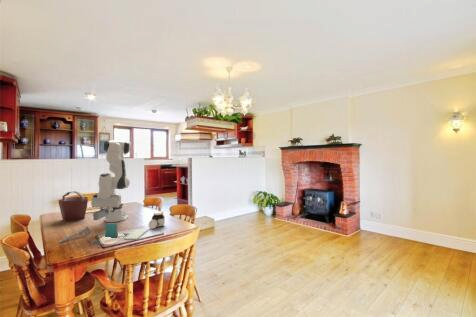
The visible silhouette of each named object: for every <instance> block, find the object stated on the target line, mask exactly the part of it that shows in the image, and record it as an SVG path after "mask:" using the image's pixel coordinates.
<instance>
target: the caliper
mask: <svg viewBox="0 0 476 317" xmlns="http://www.w3.org/2000/svg"><path fill="white" fill-rule="evenodd" d="M83 234H85V236H87V235H90V234H91V229H90V227H89V226H86V227H84V229H82V230H80V231H78V232H76V233H74V234H72V235H70V236H67V237H65V238H62V239H61V240H60V241H58V244H60V243H64V242H67V241H69V240H70V239H73V238H75V237H77V236H82V235H83Z"/></svg>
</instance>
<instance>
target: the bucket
mask: <svg viewBox="0 0 476 317" xmlns="http://www.w3.org/2000/svg"><path fill="white" fill-rule="evenodd" d="M71 193H75V194H77V195H78V196H71V197H66V196H69V195H70V194H71ZM88 202H89V196H84V195H83V194H82V193H81V192H79V191H68V192H66V193H65V194H64V195H62V196H61V199H58V207H59V211H60V214H61V218H62V221H64V220H65V221H64V222H77V221H80V220H84V219H85V218H86V212H87V207H88Z"/></svg>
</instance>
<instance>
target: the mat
mask: <svg viewBox="0 0 476 317" xmlns="http://www.w3.org/2000/svg"><path fill="white" fill-rule="evenodd" d="M122 233H123V232H122ZM123 234H124V235H125V237H127V236H128V235H129V233H126V232H125V233H123ZM98 239H99V238H97V239H95V240H94V241H92V242H91V243H89V245H90V246H91V245H92V246H93V245H94V246H98V245H101V243H100V241H99V240H98ZM113 245H115V244H113ZM113 245H112V246H113Z"/></svg>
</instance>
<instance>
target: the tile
mask: <svg viewBox="0 0 476 317" xmlns="http://www.w3.org/2000/svg"><path fill="white" fill-rule="evenodd" d="M104 225H105V234H104V235H105V237H111V238H117V237H118V233H119V223H118V222H106V223H105V224H104Z"/></svg>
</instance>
